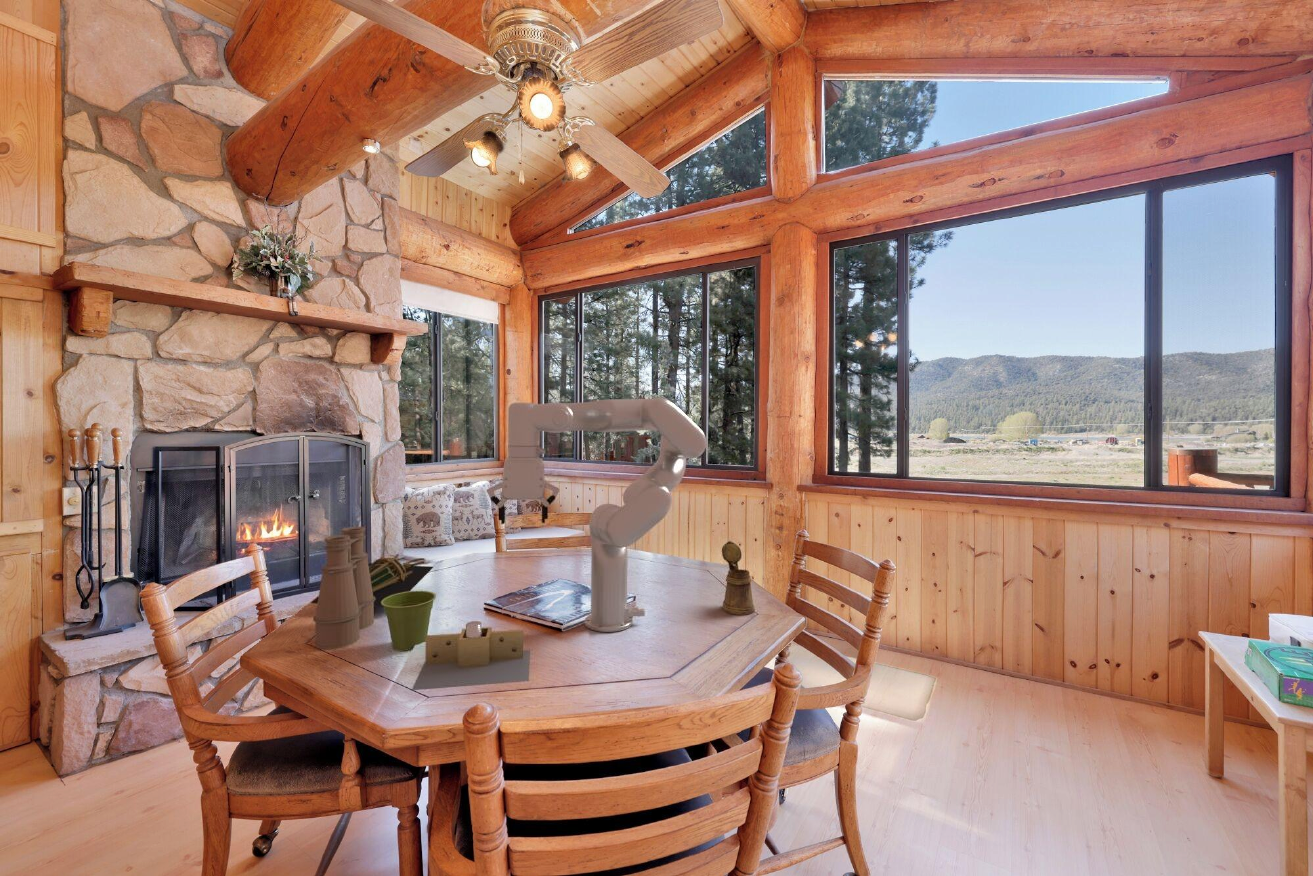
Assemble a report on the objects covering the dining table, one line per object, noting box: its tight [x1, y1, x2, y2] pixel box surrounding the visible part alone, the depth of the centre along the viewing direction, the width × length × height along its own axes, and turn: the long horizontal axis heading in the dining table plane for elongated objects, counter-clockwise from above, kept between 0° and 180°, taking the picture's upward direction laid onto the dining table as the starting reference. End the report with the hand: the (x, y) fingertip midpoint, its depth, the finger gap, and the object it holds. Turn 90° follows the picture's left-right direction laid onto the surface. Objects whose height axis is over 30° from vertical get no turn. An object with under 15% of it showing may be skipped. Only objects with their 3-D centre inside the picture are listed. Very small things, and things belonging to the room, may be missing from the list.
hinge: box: [425, 626, 524, 668], centre depth 120 cm, size 20×6×6 cm, turn 102°
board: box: [411, 649, 531, 691], centre depth 116 cm, size 22×15×1 cm
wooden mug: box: [721, 540, 755, 616], centre depth 160 cm, size 9×14×18 cm, turn 11°
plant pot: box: [381, 590, 437, 652], centre depth 130 cm, size 12×12×11 cm
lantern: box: [310, 553, 434, 608], centre depth 164 cm, size 14×23×30 cm
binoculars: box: [312, 526, 376, 650], centre depth 137 cm, size 21×10×25 cm, turn 10°
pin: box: [465, 620, 482, 638], centre depth 120 cm, size 3×3×8 cm
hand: (523, 522), depth 136 cm, fingers open, 9 cm apart
